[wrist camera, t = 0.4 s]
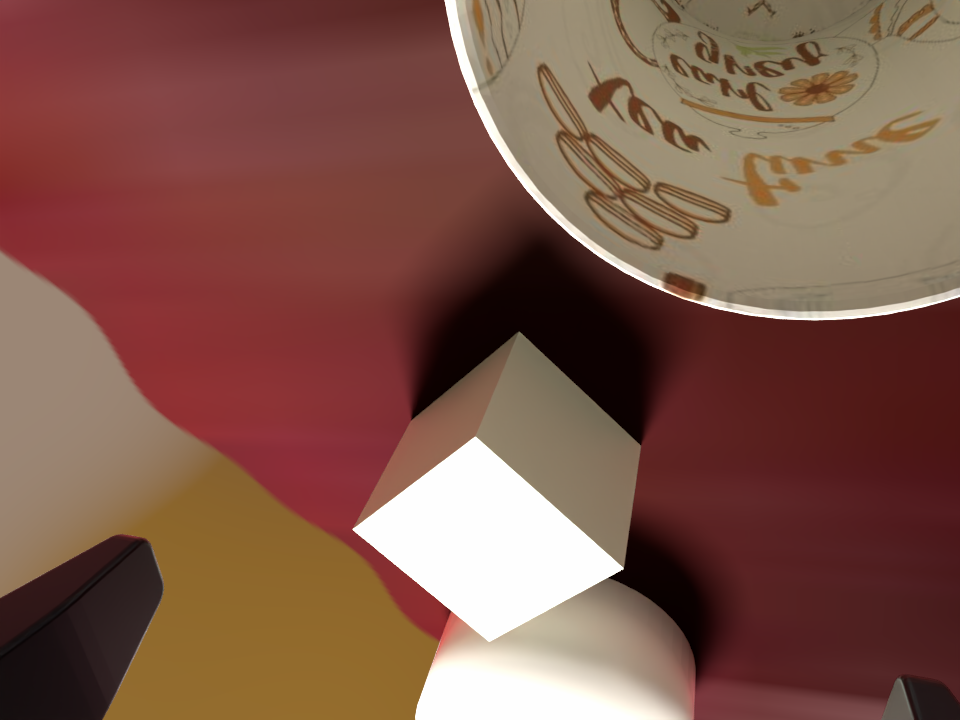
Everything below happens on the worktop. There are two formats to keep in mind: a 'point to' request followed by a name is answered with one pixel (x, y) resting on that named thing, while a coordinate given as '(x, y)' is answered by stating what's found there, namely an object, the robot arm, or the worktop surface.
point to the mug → (736, 142)
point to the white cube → (506, 492)
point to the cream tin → (567, 664)
